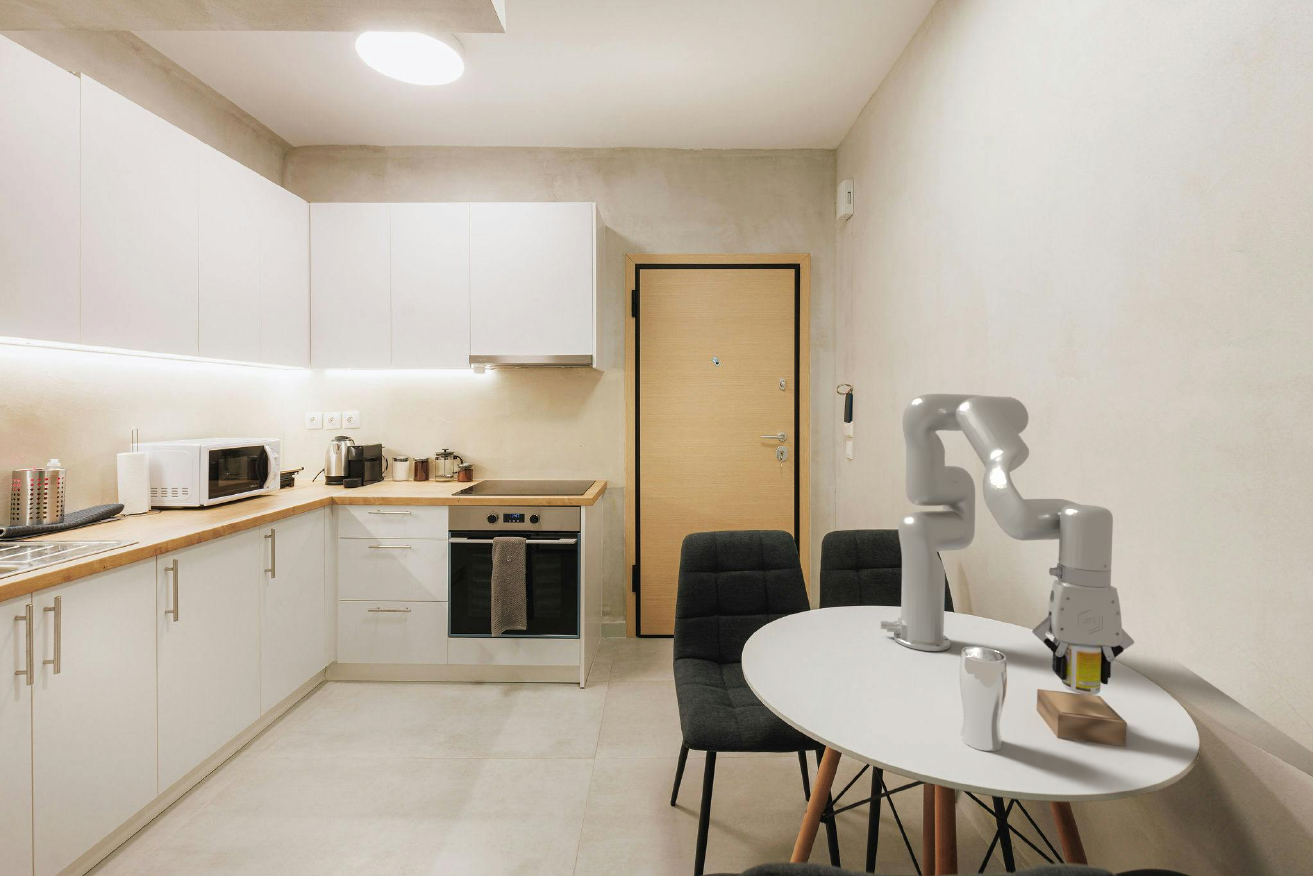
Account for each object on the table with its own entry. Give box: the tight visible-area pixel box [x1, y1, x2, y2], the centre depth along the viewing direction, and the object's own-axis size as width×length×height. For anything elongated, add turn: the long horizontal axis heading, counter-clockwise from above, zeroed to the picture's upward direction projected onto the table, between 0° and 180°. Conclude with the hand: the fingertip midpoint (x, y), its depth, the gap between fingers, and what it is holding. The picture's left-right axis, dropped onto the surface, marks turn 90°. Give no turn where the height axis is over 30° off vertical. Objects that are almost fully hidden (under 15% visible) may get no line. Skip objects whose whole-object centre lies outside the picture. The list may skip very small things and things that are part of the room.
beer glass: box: [959, 645, 1008, 752], centre depth 101 cm, size 7×7×15 cm
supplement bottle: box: [1061, 643, 1102, 695], centre depth 106 cm, size 6×6×10 cm
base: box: [1036, 688, 1128, 747], centre depth 106 cm, size 10×10×4 cm
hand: (1080, 677), depth 106 cm, fingers closed on supplement bottle, 5 cm apart
